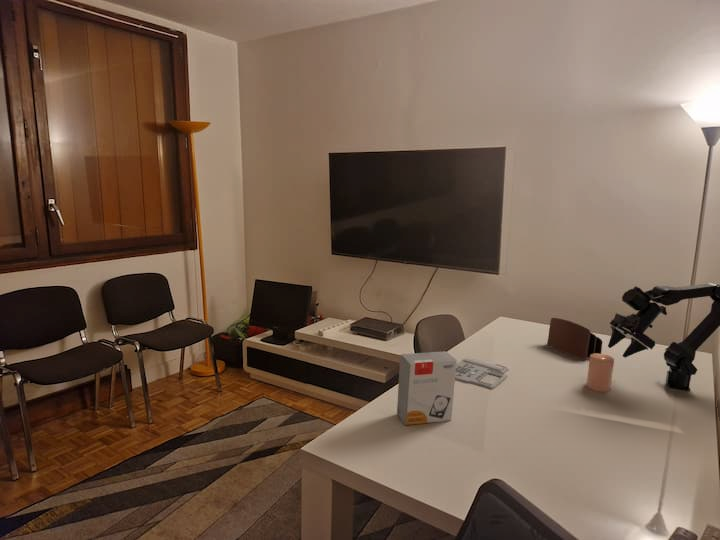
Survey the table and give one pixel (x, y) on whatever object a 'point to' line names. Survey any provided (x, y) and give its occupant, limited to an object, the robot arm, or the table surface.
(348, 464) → the table surface
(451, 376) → the hard drive box
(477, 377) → the office telephone
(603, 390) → the faceted domed cylinder
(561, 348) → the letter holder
